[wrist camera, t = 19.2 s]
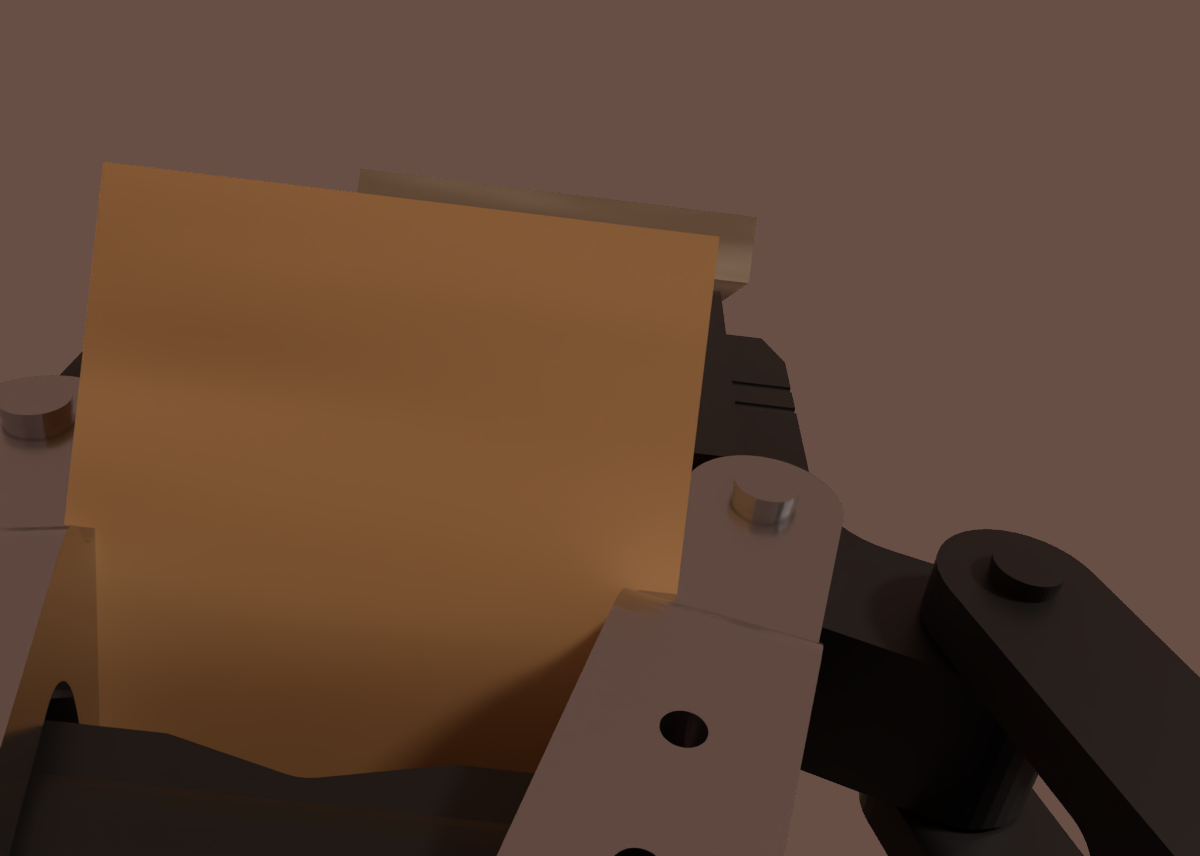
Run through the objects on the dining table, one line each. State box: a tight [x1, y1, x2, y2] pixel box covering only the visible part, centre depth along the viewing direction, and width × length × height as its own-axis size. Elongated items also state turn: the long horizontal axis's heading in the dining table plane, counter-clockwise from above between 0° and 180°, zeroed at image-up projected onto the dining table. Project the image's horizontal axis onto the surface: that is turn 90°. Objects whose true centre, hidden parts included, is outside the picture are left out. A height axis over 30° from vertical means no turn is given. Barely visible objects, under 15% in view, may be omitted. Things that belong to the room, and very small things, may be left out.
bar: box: [64, 162, 719, 778], centre depth 17 cm, size 20×4×4 cm, turn 1°
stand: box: [357, 169, 756, 301], centre depth 40 cm, size 14×14×32 cm
